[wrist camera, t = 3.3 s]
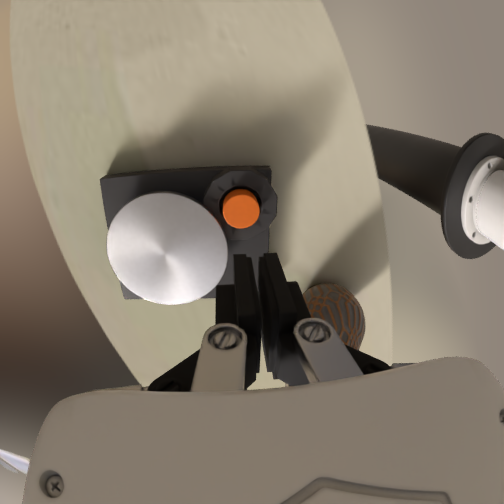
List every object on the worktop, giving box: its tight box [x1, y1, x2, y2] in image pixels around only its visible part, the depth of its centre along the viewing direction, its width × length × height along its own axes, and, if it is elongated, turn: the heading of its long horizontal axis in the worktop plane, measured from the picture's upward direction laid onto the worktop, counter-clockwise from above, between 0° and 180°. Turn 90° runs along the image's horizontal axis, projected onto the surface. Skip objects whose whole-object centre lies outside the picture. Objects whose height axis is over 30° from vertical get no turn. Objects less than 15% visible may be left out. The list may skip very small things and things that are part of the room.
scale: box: [100, 166, 277, 299], centre depth 24 cm, size 14×12×3 cm
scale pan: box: [107, 191, 228, 305], centre depth 22 cm, size 10×10×1 cm
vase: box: [303, 283, 365, 351], centre depth 26 cm, size 7×7×9 cm
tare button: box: [223, 189, 260, 228], centre depth 21 cm, size 3×3×2 cm
